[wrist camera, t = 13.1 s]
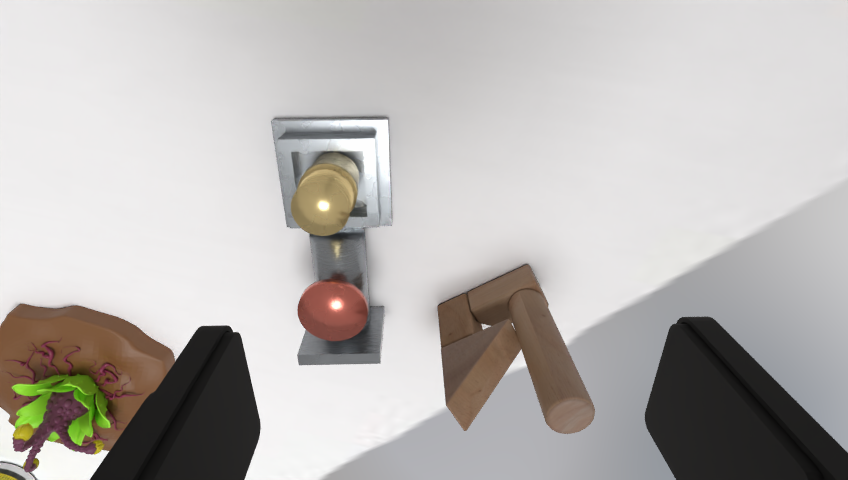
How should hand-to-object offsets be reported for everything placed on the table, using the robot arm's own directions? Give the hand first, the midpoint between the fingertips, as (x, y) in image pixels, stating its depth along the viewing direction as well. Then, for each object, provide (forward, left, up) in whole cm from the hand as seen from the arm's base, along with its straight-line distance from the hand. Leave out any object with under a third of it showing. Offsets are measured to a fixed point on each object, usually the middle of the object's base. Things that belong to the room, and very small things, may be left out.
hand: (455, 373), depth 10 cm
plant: (+30, -38, -34) cm, 59 cm away
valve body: (+12, -8, -33) cm, 36 cm away
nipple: (+6, -8, -32) cm, 34 cm away
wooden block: (+20, +7, -34) cm, 40 cm away
